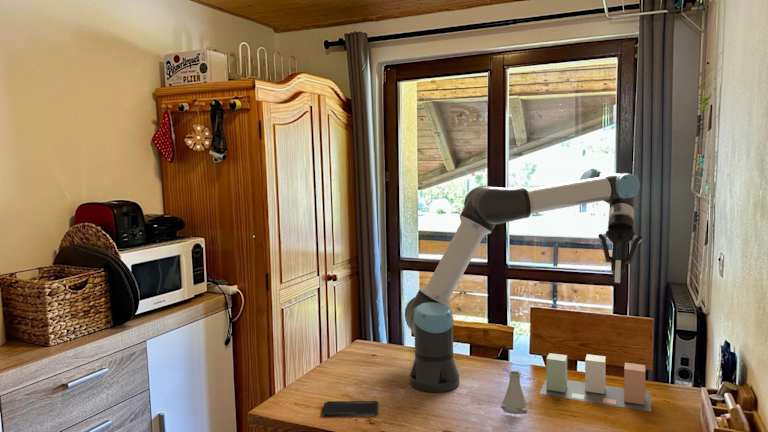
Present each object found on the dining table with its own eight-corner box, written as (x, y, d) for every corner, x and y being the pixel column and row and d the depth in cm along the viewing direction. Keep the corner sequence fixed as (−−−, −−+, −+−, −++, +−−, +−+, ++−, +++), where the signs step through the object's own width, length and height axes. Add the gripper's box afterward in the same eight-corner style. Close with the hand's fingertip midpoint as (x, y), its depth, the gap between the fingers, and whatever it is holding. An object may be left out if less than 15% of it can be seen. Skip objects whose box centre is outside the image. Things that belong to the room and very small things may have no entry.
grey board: (539, 398, 146) (539, 393, 146) (546, 381, 158) (546, 376, 158) (651, 417, 134) (651, 411, 134) (650, 397, 146) (650, 391, 146)
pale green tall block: (546, 389, 148) (546, 358, 148) (549, 383, 153) (549, 353, 152) (564, 392, 146) (565, 361, 145) (567, 385, 151) (567, 355, 150)
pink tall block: (623, 401, 140) (624, 368, 139) (624, 394, 144) (624, 362, 143) (644, 404, 137) (645, 371, 137) (644, 397, 142) (645, 365, 141)
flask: (529, 415, 137) (529, 378, 136) (501, 413, 138) (501, 377, 137) (527, 403, 144) (527, 368, 143) (500, 402, 145) (500, 367, 144)
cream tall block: (585, 391, 147) (585, 359, 146) (586, 384, 151) (586, 354, 150) (604, 394, 144) (604, 362, 144) (605, 387, 149) (605, 356, 148)
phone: (325, 401, 147) (378, 400, 146) (325, 405, 147) (378, 404, 146) (320, 414, 139) (377, 413, 138) (321, 418, 139) (377, 417, 138)
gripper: (642, 228, 171) (641, 289, 158) (600, 227, 177) (594, 285, 163) (643, 213, 166) (641, 274, 152) (599, 212, 172) (593, 271, 158)
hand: (617, 280), depth 158 cm, fingers closed
